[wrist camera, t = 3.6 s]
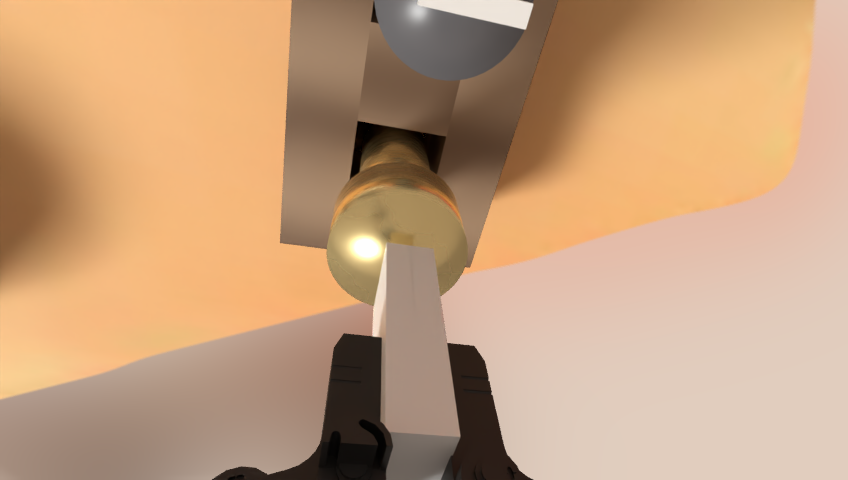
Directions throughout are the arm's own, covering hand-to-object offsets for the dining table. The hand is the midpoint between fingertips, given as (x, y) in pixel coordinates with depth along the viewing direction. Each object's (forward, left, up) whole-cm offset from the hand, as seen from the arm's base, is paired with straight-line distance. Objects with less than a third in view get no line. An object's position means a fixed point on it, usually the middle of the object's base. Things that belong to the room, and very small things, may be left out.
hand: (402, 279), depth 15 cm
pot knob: (-8, 0, -10) cm, 13 cm away
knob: (0, 0, -10) cm, 10 cm away
